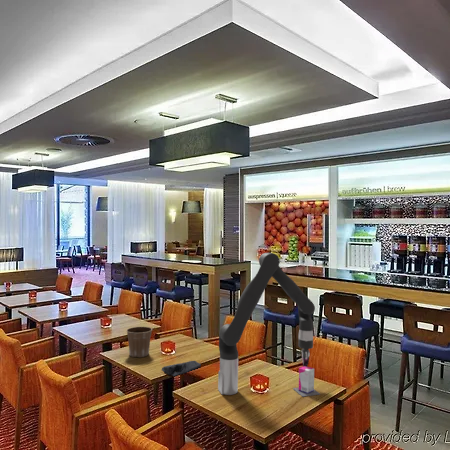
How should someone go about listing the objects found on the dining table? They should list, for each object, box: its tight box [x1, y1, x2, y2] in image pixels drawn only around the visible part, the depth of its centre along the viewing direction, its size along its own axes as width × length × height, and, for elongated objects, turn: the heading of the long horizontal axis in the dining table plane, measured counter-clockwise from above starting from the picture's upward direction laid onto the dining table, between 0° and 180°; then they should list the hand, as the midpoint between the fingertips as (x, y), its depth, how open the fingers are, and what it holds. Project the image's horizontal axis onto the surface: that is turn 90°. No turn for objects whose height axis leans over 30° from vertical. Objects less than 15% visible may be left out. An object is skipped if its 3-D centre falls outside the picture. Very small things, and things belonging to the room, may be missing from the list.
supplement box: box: [298, 366, 315, 394], centre depth 206 cm, size 6×6×12 cm
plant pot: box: [125, 326, 153, 358], centre depth 260 cm, size 16×16×16 cm
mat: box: [292, 386, 321, 398], centre depth 206 cm, size 10×10×1 cm
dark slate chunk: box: [161, 360, 202, 377], centre depth 235 cm, size 15×22×5 cm
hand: (305, 371), depth 213 cm, fingers closed
